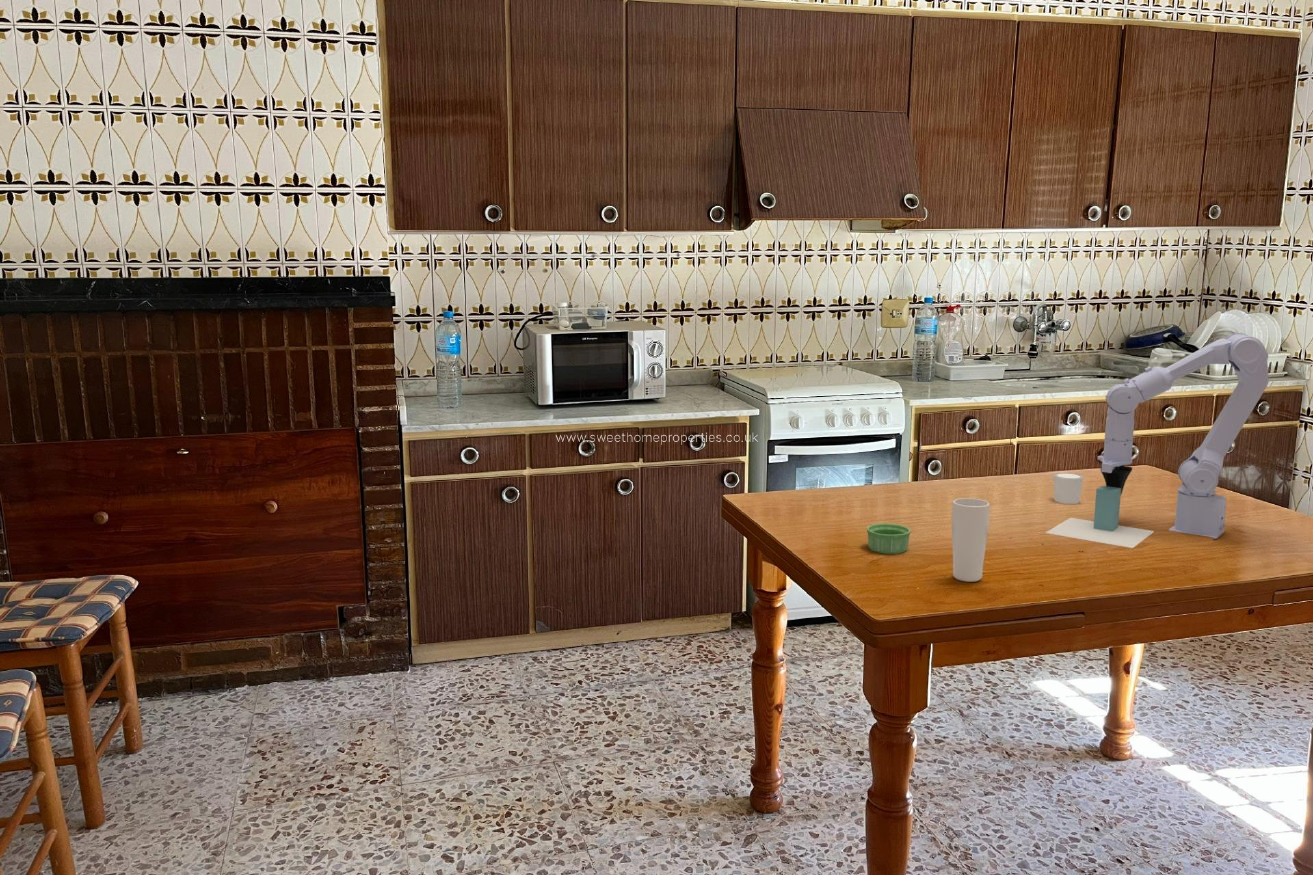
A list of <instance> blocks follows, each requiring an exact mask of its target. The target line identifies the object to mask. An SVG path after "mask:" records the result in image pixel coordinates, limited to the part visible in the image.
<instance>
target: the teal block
mask: <svg viewBox="0 0 1313 875" xmlns="http://www.w3.org/2000/svg"><path fill="white" fill-rule="evenodd" d="M1095 490H1096V492H1095V503H1094V515H1093V516H1094V517H1093V521H1094V529H1100V530H1106V531H1112V532H1113V531H1114V530H1116V529H1117V528H1118V525H1119V520H1120V506H1121V497H1122V494H1121V488H1116V487H1109V486H1106V485H1101V486H1099V487H1097V488H1096V489H1095Z"/></svg>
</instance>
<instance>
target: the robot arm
mask: <svg viewBox="0 0 1313 875" xmlns="http://www.w3.org/2000/svg"><path fill="white" fill-rule="evenodd" d="M1268 359H1269V353H1268V351H1267V349H1266V347H1265V345H1264V344H1263V342H1262V341H1261V340H1260V339H1259V338H1257V337H1254V336H1250V335H1247V334H1246V333H1242V332H1234V333H1232V334H1229V335H1228V336H1226V337H1225V338H1219V339H1217V340H1215V341H1213V342H1210V343H1208V344H1207V345H1205V346H1204V347H1201V348H1199V349H1198V350H1196V351H1194V352H1192V353H1191V354H1189V355H1187V356H1185V357H1183V358H1181V359H1179V360H1178V361H1176V362H1174V363H1172V364H1171V365H1169V366H1167V367H1163V366H1158V365H1157V366H1154V367H1151V365H1150V366H1148V367H1145V368H1144V371H1143V372H1142V373H1140V374H1138V375H1136V376H1134V377H1132V378H1130V379H1129V378H1126V379H1123V382H1124V384H1123V383H1122V384H1120V383H1119V384H1116V385H1113V386H1111V387H1110V388H1109V390H1108V391H1107V393H1106V395H1105V402H1106V403H1107V405H1108V407H1107V410H1106V415H1107V416H1106V418H1105V430H1104V444H1103V455H1098V456H1097V460H1098V461H1101V462H1102V463H1101V466H1100V473H1101V474H1102V476H1103V478H1104V482H1105V486H1109V487H1116V488H1121V495H1122V494H1123V490H1124V487H1125V484H1126V483H1127V482H1126V481H1127V480H1128V478H1129V476H1130V474H1131V472H1132V471H1133V467H1131V466H1128V465H1131V464H1133V457H1132V456H1133V443H1134V433H1135V432H1134V431H1135V430H1134V429H1135V410H1136V409H1137V408H1138V406H1139V404H1140V403H1144V402H1147V401H1150V400H1152V399H1153V398H1155V397H1157V396H1160V395H1161V394H1164V393H1165V392H1167V391H1169V390H1171V388H1172V387H1173V383H1174V382H1175V381H1177V380H1179V379H1180V378H1183V377H1185V376H1187V375H1189V374H1192V373H1194V372H1196V371H1198V370H1200V369H1203V368H1206V367H1208V366H1210V365H1231V367H1233V371H1234V372H1235V375H1236V377H1237V380H1238V382H1237V384H1236V385H1235V388H1234V390H1233V391H1232V392H1231V394H1230V396H1229V398H1228V399H1227V401H1226V403H1225V405H1223V408H1222V410H1221V411H1220V412H1219V414H1218V416H1217V418H1216V420H1215V421H1214V423H1213V425H1212V426H1211V428H1210V429H1209V431H1208V433H1207V434H1206V436H1205V438H1204V439H1203V442H1202V443H1201V444H1200V446H1199V447H1197V448H1196V449H1195V450H1194V451H1193V452H1192V454H1191V456H1190V457H1188V458H1187V459H1186V460H1184V461H1183V462H1182V463H1181V464H1180V466H1179V467H1178V471H1177V475H1178V478H1179V480H1180V481H1181V482H1182V483H1181V484H1180V485H1179V487H1178V488H1177V494H1176V495H1177V496H1176V506H1175V508H1176V509H1175V516H1174V517H1175V518H1174V520H1175V521H1174V524H1173V526H1171V527H1170V528H1169V529H1168V531H1172V532H1178V533H1183V534H1190V535H1197V536H1203V537H1209V538H1212V539H1213V540H1216V539H1218V538H1219V537H1220V536H1222V534H1223V533H1224V532H1225V525H1226V524H1225V522H1226V515H1227V514H1226V513H1227V512H1226V511H1227V497H1226V496H1223V495H1219V494H1216V488H1217V486H1218V484H1219V476H1220V473H1221V471H1222V469H1223V464H1224V458H1225V457H1226V455H1227V453H1228V451H1229V450H1230V448H1231V446H1232V445H1233V444H1234V442H1235V441H1236V439H1237V437H1238V435H1239V433H1240V432H1241V430H1242V428H1243V426H1244V425H1245V424H1246V422H1247V420H1248V419H1249V417H1250V415H1251V413H1253V410H1254V408H1255V407H1256V405H1257V403H1258V402H1259V400H1260V399H1261V397H1262V395H1263V394H1264V392H1265V391H1266V390H1267V387H1268V385H1269V366H1268V363H1269V362H1268Z"/></svg>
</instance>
